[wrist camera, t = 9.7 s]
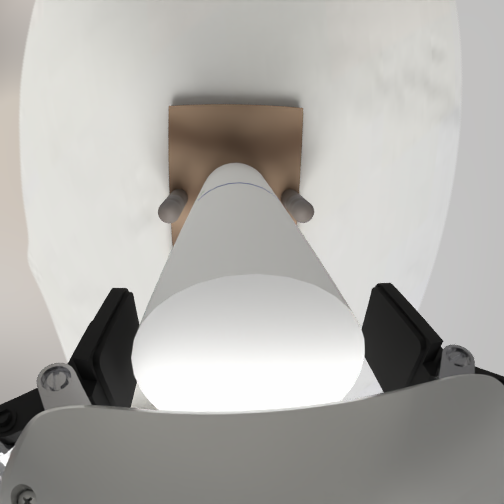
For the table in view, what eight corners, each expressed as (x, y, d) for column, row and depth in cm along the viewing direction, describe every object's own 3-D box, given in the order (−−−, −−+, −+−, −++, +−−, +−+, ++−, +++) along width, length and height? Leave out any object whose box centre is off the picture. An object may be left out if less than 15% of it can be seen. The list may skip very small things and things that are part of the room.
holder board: (171, 107, 28) (155, 100, 21) (299, 109, 29) (320, 103, 23) (177, 275, 36) (167, 308, 29) (289, 273, 37) (303, 306, 30)
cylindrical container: (280, 206, 32) (385, 385, 9) (224, 239, 33) (220, 452, 10) (246, 150, 29) (307, 218, 6) (189, 185, 30) (86, 344, 7)
